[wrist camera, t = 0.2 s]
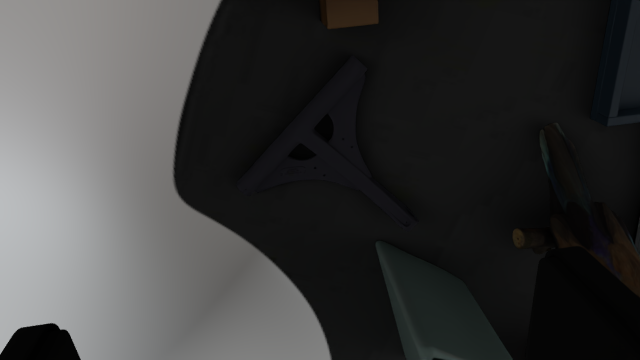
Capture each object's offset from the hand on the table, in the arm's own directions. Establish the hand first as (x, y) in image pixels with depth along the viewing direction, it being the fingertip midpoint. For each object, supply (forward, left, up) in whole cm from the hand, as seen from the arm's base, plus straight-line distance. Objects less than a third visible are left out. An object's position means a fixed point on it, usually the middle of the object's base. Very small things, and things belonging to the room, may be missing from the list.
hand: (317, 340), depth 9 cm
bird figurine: (+19, +24, -30) cm, 43 cm away
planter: (+26, +12, -30) cm, 41 cm away
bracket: (+11, +5, -30) cm, 32 cm away
